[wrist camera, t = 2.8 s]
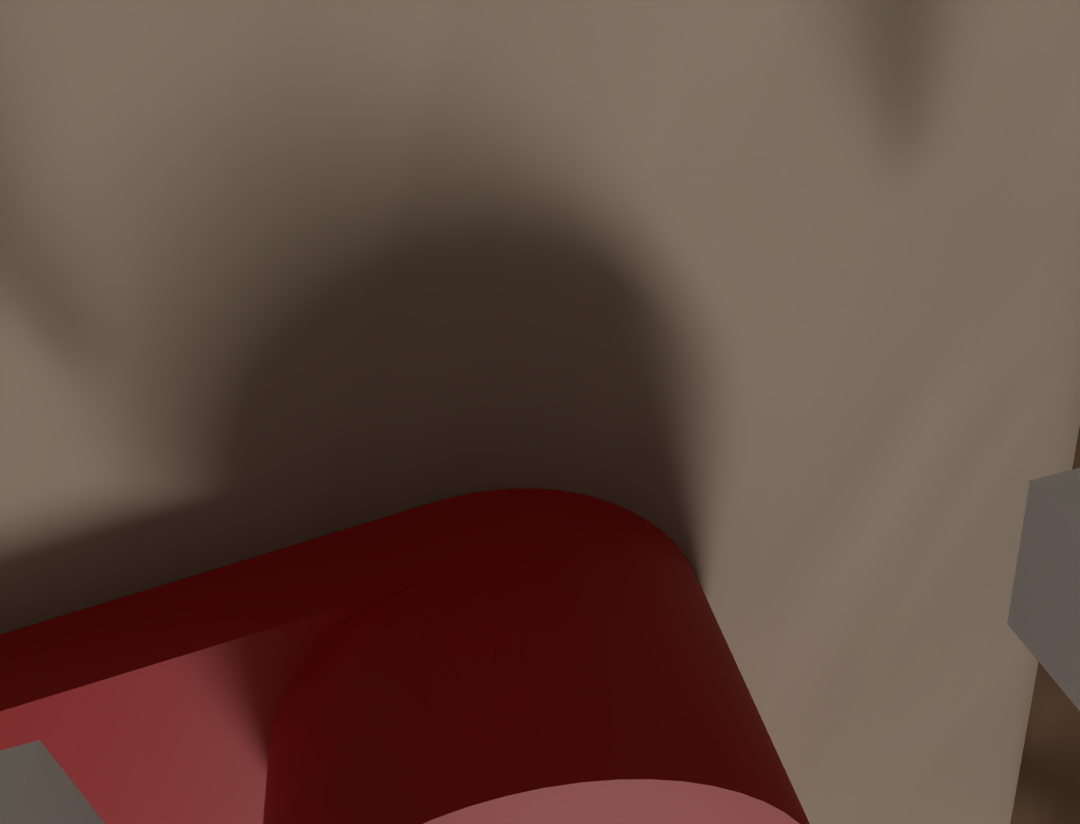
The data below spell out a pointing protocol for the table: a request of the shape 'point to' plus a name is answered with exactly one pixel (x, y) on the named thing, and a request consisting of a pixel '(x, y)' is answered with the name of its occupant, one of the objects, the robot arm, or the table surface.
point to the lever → (410, 681)
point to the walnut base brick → (1050, 752)
